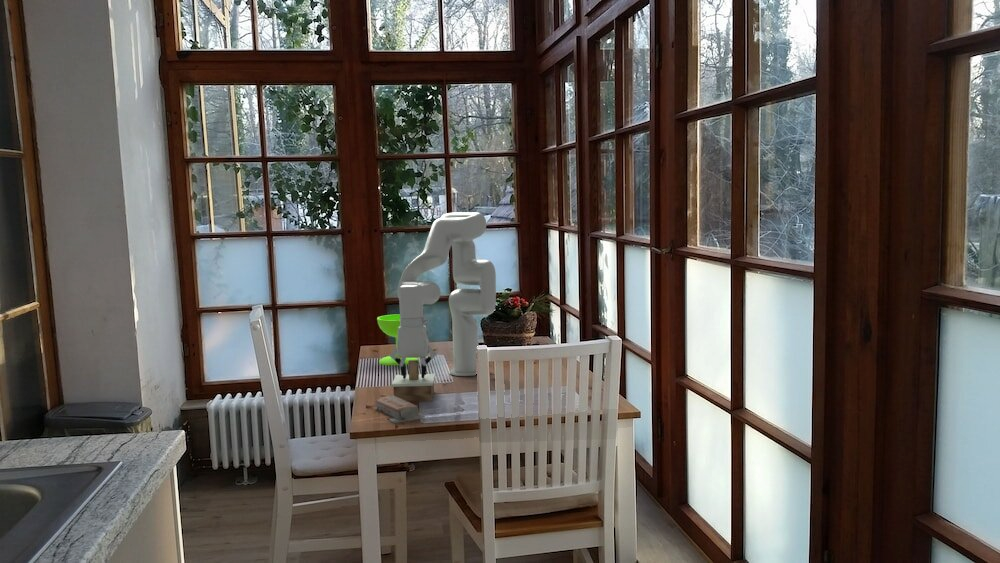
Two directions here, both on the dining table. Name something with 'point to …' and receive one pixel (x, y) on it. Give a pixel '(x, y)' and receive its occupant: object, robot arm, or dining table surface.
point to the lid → (413, 377)
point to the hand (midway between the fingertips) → (413, 376)
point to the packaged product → (398, 409)
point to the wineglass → (390, 327)
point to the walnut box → (415, 393)
